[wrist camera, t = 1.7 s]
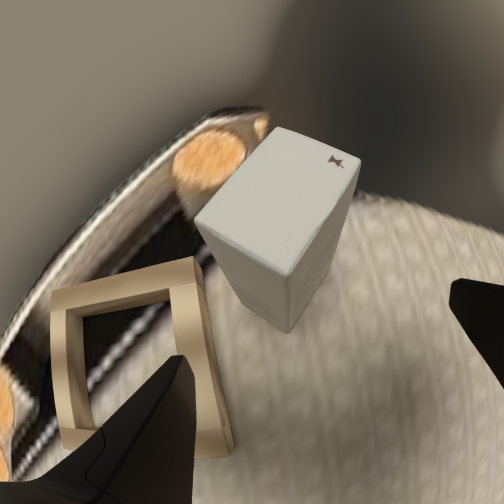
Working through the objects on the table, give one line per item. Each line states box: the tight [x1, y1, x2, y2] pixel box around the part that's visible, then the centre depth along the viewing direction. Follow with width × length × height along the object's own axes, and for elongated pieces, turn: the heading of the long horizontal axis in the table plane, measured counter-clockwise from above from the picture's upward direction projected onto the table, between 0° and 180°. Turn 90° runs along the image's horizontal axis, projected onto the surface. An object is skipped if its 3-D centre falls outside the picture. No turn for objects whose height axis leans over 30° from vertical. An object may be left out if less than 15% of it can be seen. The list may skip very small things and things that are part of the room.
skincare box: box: [194, 127, 361, 333], centre depth 15 cm, size 6×4×12 cm
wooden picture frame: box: [50, 256, 235, 459], centre depth 18 cm, size 14×14×2 cm
